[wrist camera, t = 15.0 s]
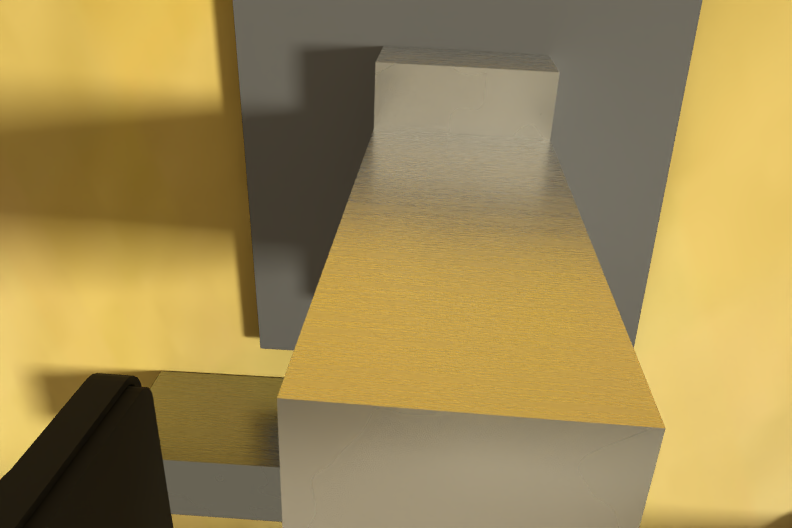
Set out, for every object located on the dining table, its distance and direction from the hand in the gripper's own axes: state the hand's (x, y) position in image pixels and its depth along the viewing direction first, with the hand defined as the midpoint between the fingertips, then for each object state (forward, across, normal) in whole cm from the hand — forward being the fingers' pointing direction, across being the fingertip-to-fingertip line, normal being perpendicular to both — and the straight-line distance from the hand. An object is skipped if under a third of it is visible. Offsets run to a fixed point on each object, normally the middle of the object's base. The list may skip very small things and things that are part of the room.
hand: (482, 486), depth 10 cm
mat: (+11, +1, -1) cm, 11 cm away
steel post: (+10, +1, -1) cm, 11 cm away
